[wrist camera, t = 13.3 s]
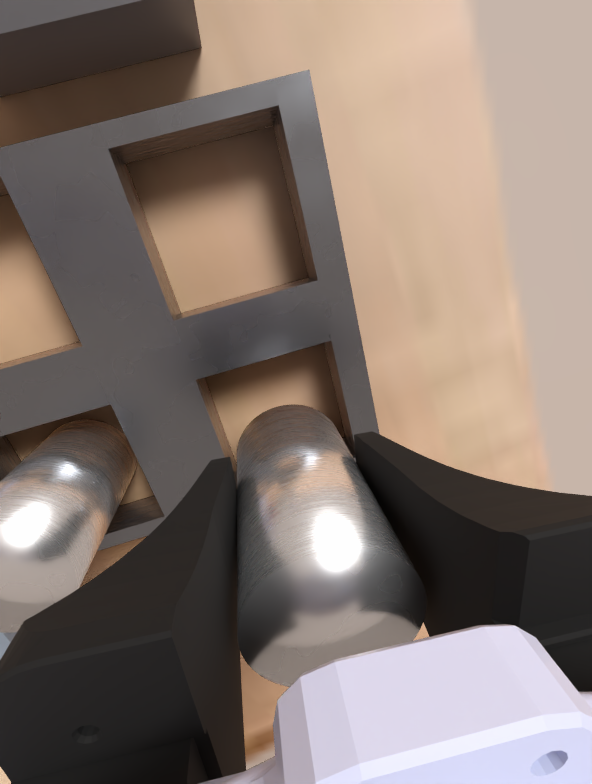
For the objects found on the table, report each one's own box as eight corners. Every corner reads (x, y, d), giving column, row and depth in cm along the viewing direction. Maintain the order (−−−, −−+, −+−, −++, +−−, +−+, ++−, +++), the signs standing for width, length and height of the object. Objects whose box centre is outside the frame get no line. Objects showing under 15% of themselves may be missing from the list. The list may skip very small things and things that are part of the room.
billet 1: (68, 506, 18) (-29, 648, 11) (26, 434, 16) (-114, 551, 10) (150, 481, 18) (100, 607, 12) (115, 408, 17) (35, 506, 10)
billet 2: (307, 510, 15) (359, 702, 9) (218, 474, 14) (202, 667, 8) (360, 431, 14) (463, 582, 8) (270, 386, 13) (302, 520, 7)
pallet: (42, 542, 18) (20, 574, 16) (-173, 215, 13) (-243, 208, 11) (370, 442, 19) (385, 462, 17) (299, 95, 14) (309, 70, 12)
